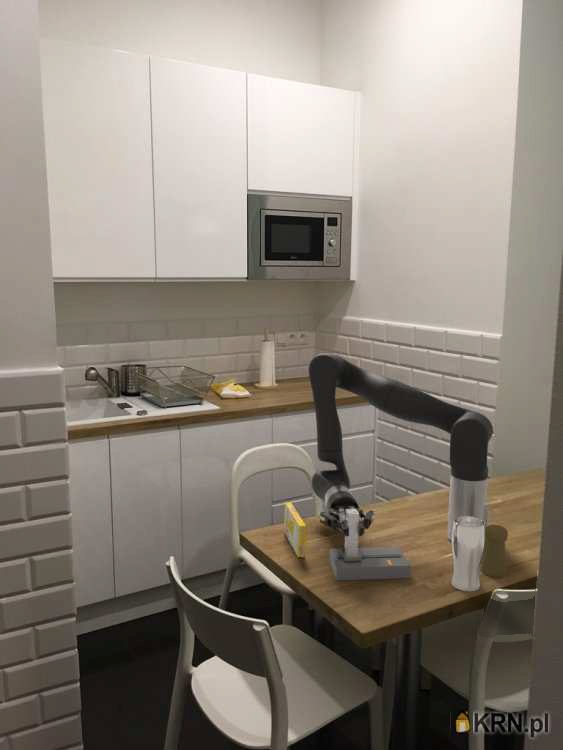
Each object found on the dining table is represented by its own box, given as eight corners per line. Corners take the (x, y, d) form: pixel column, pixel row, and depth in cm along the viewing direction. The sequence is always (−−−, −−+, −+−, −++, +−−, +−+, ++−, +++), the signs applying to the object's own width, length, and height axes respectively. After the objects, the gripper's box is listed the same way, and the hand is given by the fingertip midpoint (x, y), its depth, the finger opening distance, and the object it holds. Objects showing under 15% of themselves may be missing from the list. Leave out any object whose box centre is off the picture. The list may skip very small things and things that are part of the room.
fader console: (398, 558, 156) (399, 545, 155) (410, 577, 146) (410, 564, 145) (329, 560, 154) (329, 547, 154) (336, 580, 144) (336, 567, 144)
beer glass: (476, 595, 138) (481, 530, 135) (445, 587, 142) (448, 523, 139) (485, 582, 144) (489, 519, 141) (454, 574, 147) (458, 513, 145)
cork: (508, 578, 146) (512, 533, 144) (481, 575, 147) (484, 530, 145) (505, 566, 152) (508, 522, 150) (478, 564, 153) (481, 520, 151)
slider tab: (357, 551, 152) (358, 507, 150) (361, 560, 147) (363, 515, 145) (340, 551, 151) (341, 507, 149) (344, 561, 146) (345, 515, 145)
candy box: (306, 557, 156) (306, 525, 154) (297, 558, 155) (298, 526, 154) (291, 531, 171) (291, 501, 170) (283, 531, 171) (283, 502, 170)
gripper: (314, 490, 161) (324, 517, 144) (368, 489, 162) (385, 516, 145) (313, 519, 162) (323, 548, 145) (367, 517, 163) (384, 547, 146)
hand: (354, 532), depth 145 cm, fingers closed on slider tab, 2 cm apart
